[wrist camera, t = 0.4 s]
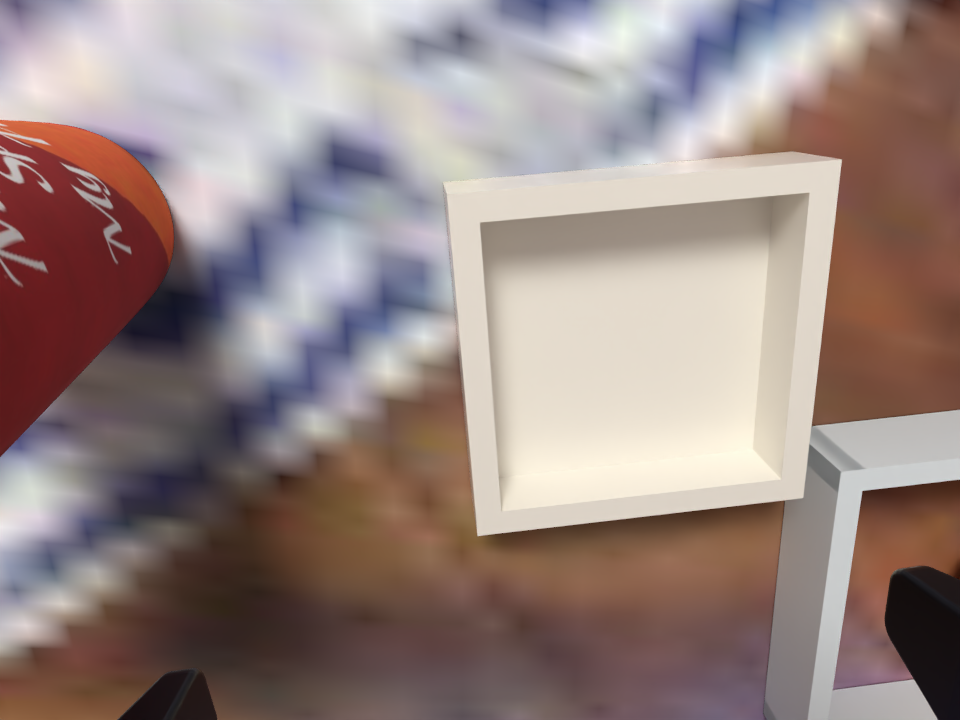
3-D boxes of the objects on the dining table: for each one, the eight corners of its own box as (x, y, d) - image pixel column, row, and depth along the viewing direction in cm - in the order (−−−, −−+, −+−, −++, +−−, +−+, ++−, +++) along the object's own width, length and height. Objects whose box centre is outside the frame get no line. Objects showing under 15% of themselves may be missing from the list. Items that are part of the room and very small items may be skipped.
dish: (765, 458, 25) (803, 497, 22) (471, 491, 24) (477, 535, 22) (792, 151, 21) (841, 159, 19) (442, 182, 20) (447, 194, 18)
